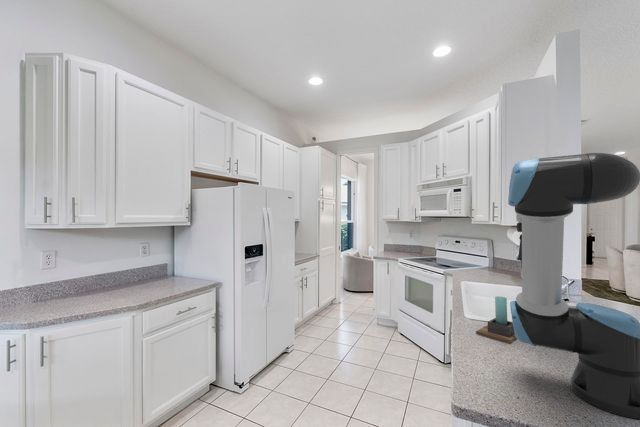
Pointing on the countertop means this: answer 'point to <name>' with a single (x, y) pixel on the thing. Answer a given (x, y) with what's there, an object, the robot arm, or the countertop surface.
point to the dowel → (501, 310)
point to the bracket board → (498, 331)
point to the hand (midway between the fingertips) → (530, 276)
